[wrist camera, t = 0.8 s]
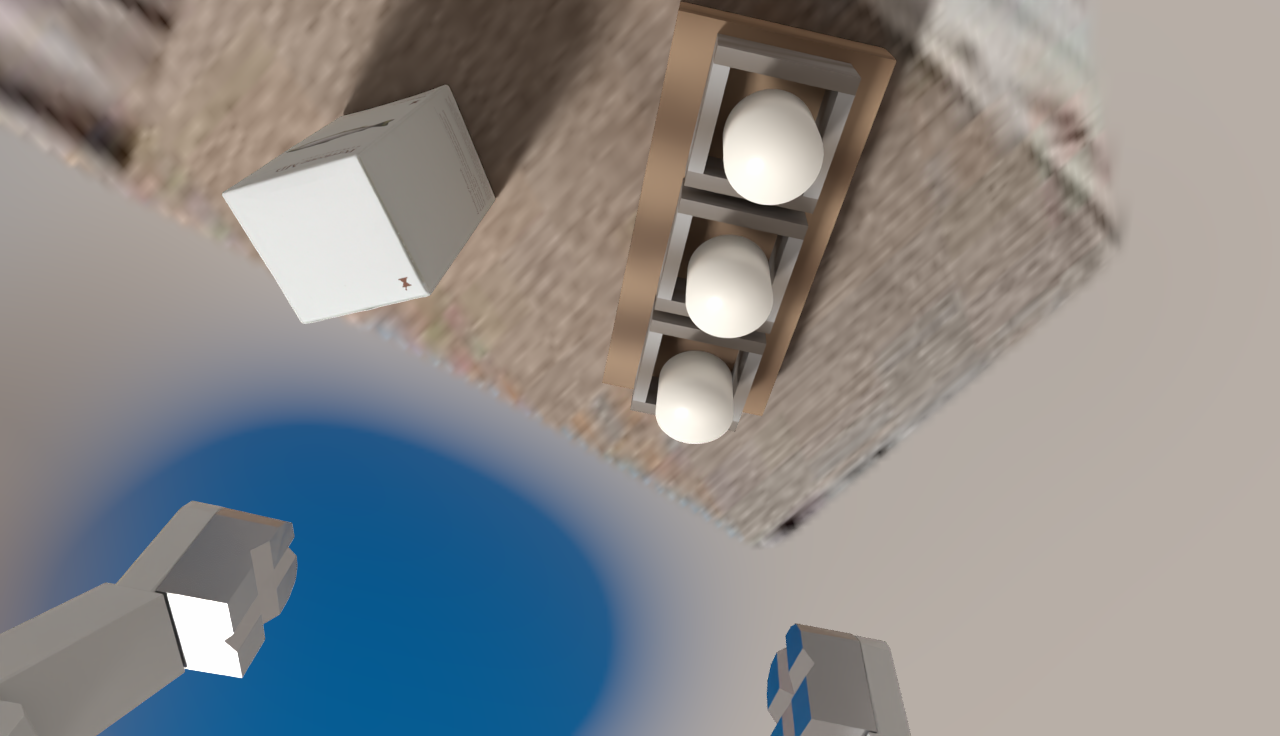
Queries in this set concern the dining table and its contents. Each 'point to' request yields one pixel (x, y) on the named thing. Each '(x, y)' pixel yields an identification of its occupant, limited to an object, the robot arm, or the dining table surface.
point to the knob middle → (728, 286)
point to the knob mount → (709, 206)
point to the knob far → (695, 397)
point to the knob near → (771, 147)
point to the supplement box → (367, 206)
